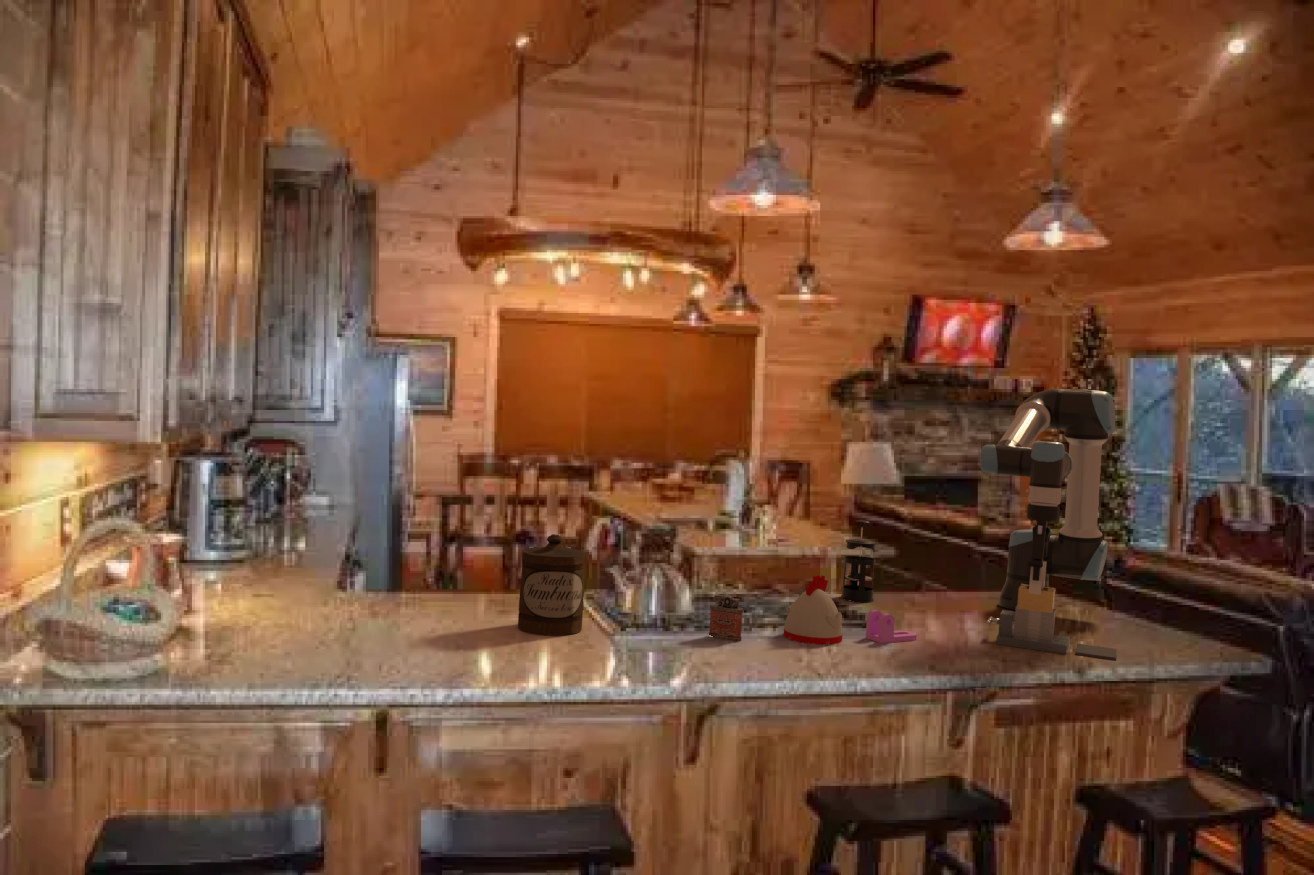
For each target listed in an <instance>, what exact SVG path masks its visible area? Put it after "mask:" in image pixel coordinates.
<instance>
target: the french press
mask: <svg viewBox="0 0 1314 875" xmlns="http://www.w3.org/2000/svg"><path fill="white" fill-rule="evenodd" d="M855 522H856V523H860V530H861V531H860V539H859V538H853V539H845V542H846V549H849V550H854V549H856V548H859V555H845V556H844V557H843V558H844V559H843V572H842V586H841V594H840V598H841V599H842V600H844V599H845V600H844V601H848V600H851V601H850V602H853V601H854V603H871V602H874V588H875V573H876V560H877V559H875V558H873V557H868V556H862V548H866V549H869V550H871V551H875V550H876V545H877V544H878V543H877V542H876V541H874V540H873V541H872V540H868V539H863V530H864V527H865V524H871V522H870V521H868V520H863V519H858V520H855ZM847 564H850V566H851V567H850V574H846V566H847ZM867 566H872V577H871V576H867V575H866V573H867ZM846 580H847V581H850V582H849V584H846V585H845V581H846ZM866 582H867V583H868V582H869V583H870V582H871V587H869V586H866Z"/></svg>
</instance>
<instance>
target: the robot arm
mask: <svg viewBox="0 0 1314 875" xmlns="http://www.w3.org/2000/svg"><path fill="white" fill-rule="evenodd" d="M1115 429H1116V408H1115V402H1114V399H1113V396H1112V394H1110V392H1107V391H1102V390H1095V389H1071V388H1070V389H1068V388H1067V389H1065V388H1064V389H1063V388H1062V389H1061V388H1050V389H1049V388H1048V389H1046V390H1042V391H1039V392H1036V393H1034V394H1033V395H1031V396H1029V397H1028V398H1026V399H1025V400H1024V401H1022V402H1021V403H1020V405H1019V406H1018V408H1017V409H1016V411H1015V416H1014V420H1013V421H1012V422H1011V423H1010V425H1009V427H1008V428H1007V430H1006V431H1005V433H1004V434H1003V436H1002V437H1001V438H1000V440H999V441H998V443H997V444H994V443H992V444H985V445H984V446H982V447H981V450H980V454H979V455H980V456H979V466H980V467H979V468H980V469H981V471H982V472H984V473H985V474H991V475H1001V476H1002V475H1003V476H1013V477H1017V476H1018V477H1023V478H1025V477H1026V478H1029V482H1028V483H1029V484H1028V485H1029V486H1028V488H1027V489H1026V490H1025V493H1026V494H1028V495H1027V496H1028V497H1027V501H1028V502H1029V503H1028V504H1027V505H1026V518H1027V519H1028V520H1031V521H1036V524H1035V525H1034V526H1033V527H1032V528H1029V529H1017V530H1013V531H1012V532H1011V533H1010V536H1009V542H1008V543H1009V544H1008V546H1007V547H1008V553H1007V554H1008V555H1007V556H1008V557H1007V566H1006V567H1007V570H1006V580H1005V583H1004V585H1003V586H1002V590H1001V592H1000V593H999V596H998V606H1000V607H1002V608H1005V609H1008V610H1012V611H1015V609H1016V606H1017V604H1018V592H1019V587H1020V586H1021V584H1026V585H1029V593H1031V594H1039V595H1041V586H1042V580H1045V583H1044V587H1050V586H1049V577H1050V576H1055V577H1062V578H1069V579H1076V580H1081V581H1083V580H1085V581H1097V580H1098V579H1099V578H1100V577H1101V576H1102V574H1103V570H1104V567H1105V564H1106V560H1107V555H1108V552H1109V551H1108V548H1109V543H1108V541H1106V540H1104V539H1103V533H1102V532H1101V530H1100V529H1098V517H1099V514H1098V513H1099V498H1100V482H1101V467H1102V466H1101V464H1102V450H1103V449H1102V447H1103V445H1104V443H1106V442H1107V441H1108V440H1109V435H1110V434H1114V432H1115ZM1045 430H1058V431H1064V432H1063V437H1064V439H1065V440H1066V441H1067V442H1068V445H1069V446H1068V452H1067V451H1065V444H1063V442H1056V441H1044V440H1043V441H1041V440H1036V438H1038V436H1039V434H1040V433H1042V432H1044V431H1045ZM1035 440H1036V441H1035ZM1065 478H1067V481H1066V497H1065V498H1066V502H1065V514H1064V515H1065V519H1064V525H1063V526H1062V527H1061V528H1060V529H1059V530H1058V535H1057V534H1054V532H1053V530H1052V529H1051V528H1049V526H1050V523H1049V522H1051V523H1053V522H1055V523H1057V522H1058V521H1059V520H1060V510H1061V509H1060V507H1059V506H1058V505H1060V504H1061V502H1062V501H1061V499H1062V489H1063V488H1062V482H1063V479H1065Z"/></svg>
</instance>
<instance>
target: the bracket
mask: <svg viewBox="0 0 1314 875" xmlns="http://www.w3.org/2000/svg"><path fill="white" fill-rule="evenodd" d="M865 628H866V629H865V639H867V640H870V641H874V642H876V643H880V644H887V643H888V644H890V643H898V642H911V641H917V638H918V637H917V636H918V635H917V633H916V632H914V631H910V630H895V617H894V615H892V614H891V613H886V612H885V613H883V614H882V612H881V611H879V610H876V609H872V610H870V611H869V612H868V613H867V616H866V626H865Z"/></svg>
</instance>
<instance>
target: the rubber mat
mask: <svg viewBox="0 0 1314 875" xmlns="http://www.w3.org/2000/svg"><path fill="white" fill-rule="evenodd" d="M1075 655H1077V656H1083V657H1088V658H1089V657H1090V658H1096V659H1103V660H1111V661H1112V660H1113V661H1116V660H1117V648H1113V647H1104V646H1098V645H1092V644H1084V643H1076V649H1075Z"/></svg>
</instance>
